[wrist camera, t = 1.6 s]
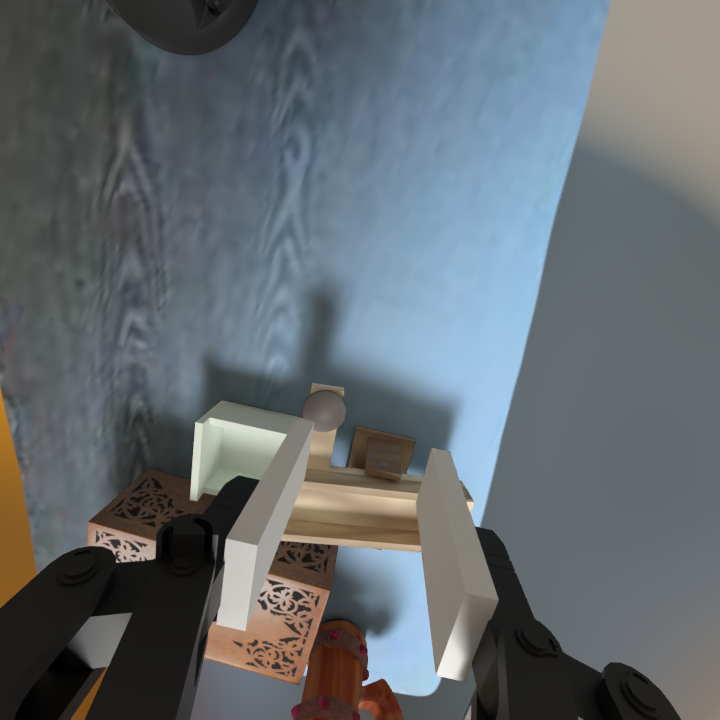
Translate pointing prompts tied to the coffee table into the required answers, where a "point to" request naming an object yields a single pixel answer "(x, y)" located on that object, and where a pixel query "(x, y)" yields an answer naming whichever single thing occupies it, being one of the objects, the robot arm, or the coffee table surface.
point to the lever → (350, 491)
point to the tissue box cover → (276, 600)
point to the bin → (235, 445)
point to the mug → (342, 679)
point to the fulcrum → (381, 453)
